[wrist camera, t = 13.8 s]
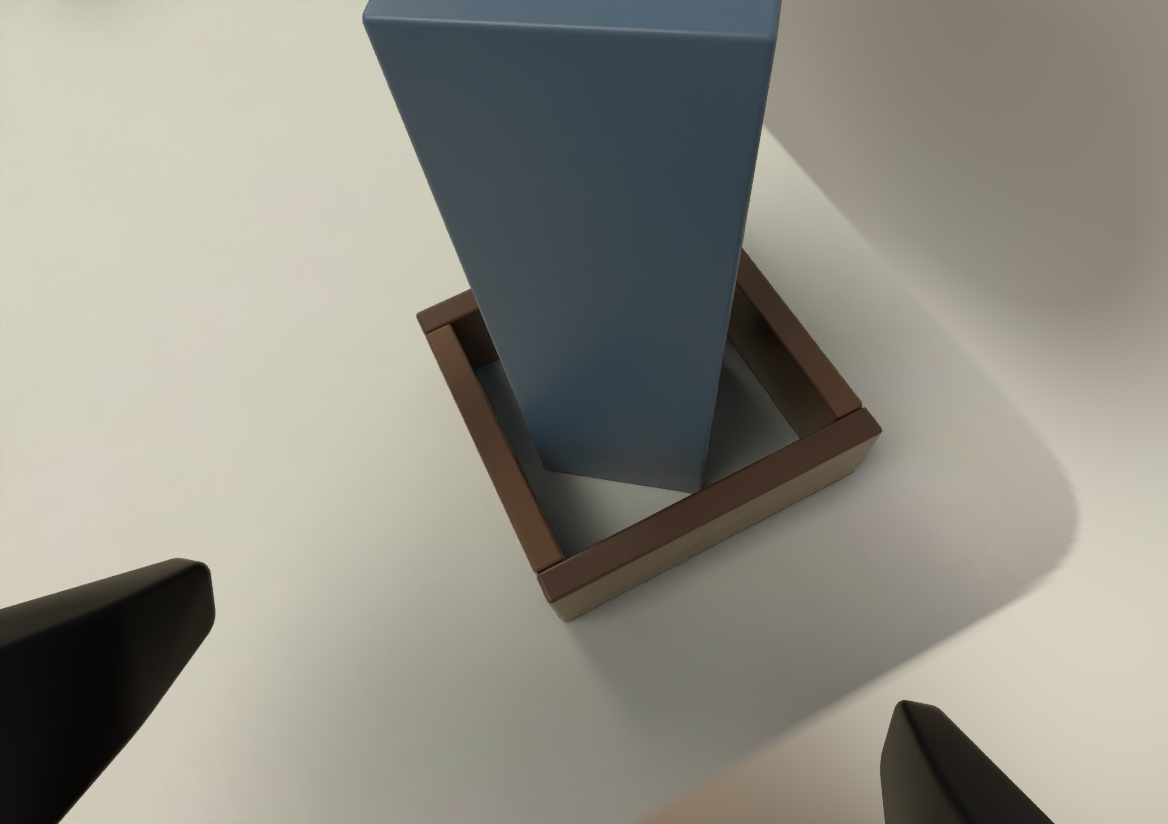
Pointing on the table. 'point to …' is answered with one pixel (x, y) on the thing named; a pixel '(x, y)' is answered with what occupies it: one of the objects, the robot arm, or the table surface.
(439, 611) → the table surface
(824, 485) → the stand
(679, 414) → the peg
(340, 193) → the table surface
